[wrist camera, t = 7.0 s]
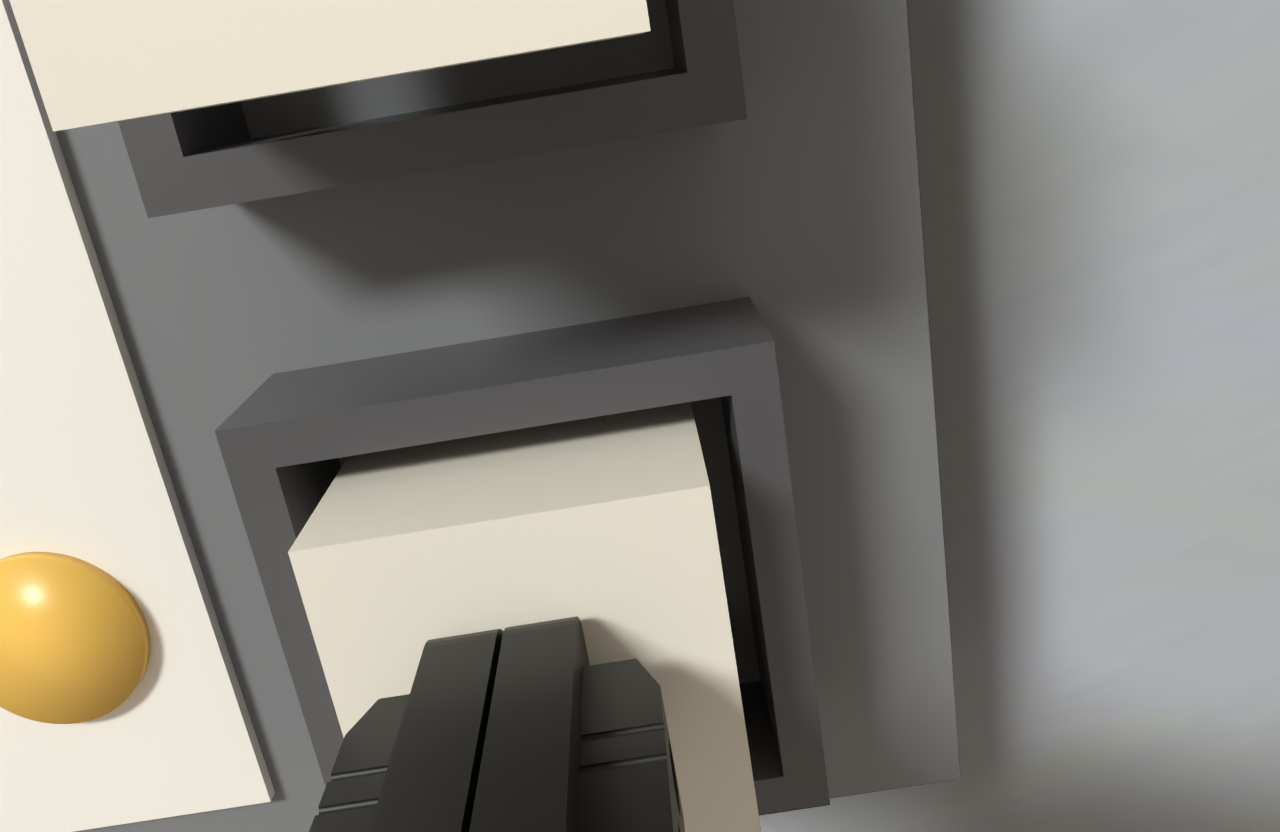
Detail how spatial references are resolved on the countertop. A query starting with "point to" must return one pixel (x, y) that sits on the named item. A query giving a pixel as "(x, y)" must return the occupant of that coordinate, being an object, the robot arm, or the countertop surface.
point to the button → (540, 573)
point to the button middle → (277, 46)
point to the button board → (461, 386)
